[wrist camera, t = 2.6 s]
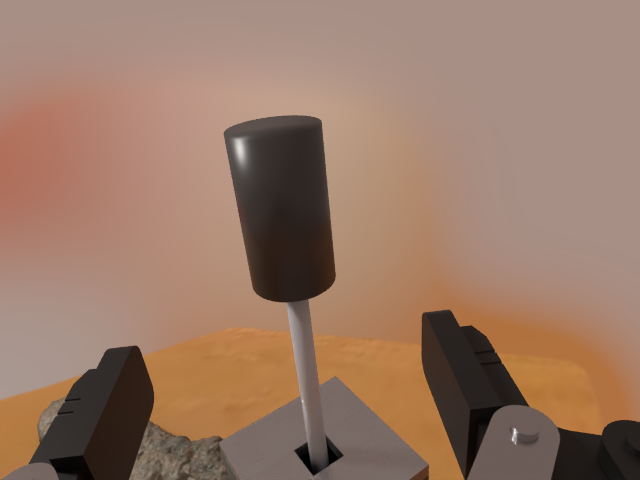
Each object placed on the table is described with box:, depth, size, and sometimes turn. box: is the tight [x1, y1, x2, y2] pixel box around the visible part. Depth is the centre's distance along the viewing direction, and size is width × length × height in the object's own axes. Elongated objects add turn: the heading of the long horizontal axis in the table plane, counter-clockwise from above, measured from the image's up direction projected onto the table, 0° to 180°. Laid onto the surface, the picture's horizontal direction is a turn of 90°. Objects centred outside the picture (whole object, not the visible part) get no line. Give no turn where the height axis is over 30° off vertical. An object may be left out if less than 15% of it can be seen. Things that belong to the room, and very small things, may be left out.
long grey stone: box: [37, 396, 229, 480], centre depth 48 cm, size 35×5×10 cm
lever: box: [224, 115, 336, 476], centre depth 26 cm, size 4×4×26 cm
